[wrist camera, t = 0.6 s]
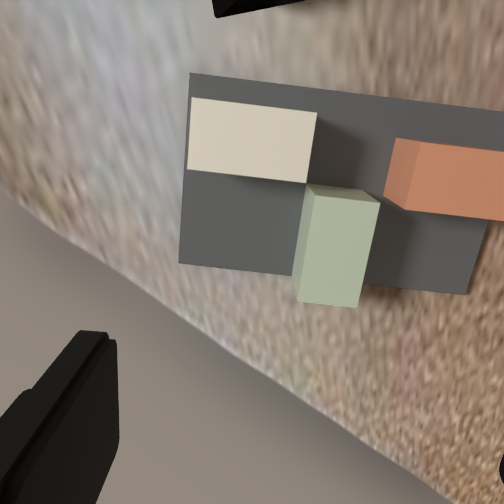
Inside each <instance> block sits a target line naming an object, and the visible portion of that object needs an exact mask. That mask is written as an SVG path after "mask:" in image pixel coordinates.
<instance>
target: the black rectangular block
mask: <svg viewBox="0 0 504 504" xmlns="http://www.w3.org/2000/svg"><path fill="white" fill-rule="evenodd" d="M300 1H305V0H212V4H213V9H214V15H215V17H216V18H221V17H226V16H231V15H236V14H241V13H246V12H251V11H256V10H261V9H266V8H270V7H275V6H280V5H285V4H290V3H295V2H300Z"/></svg>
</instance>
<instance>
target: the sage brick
mask: <svg viewBox="0 0 504 504" xmlns="http://www.w3.org/2000/svg"><path fill="white" fill-rule="evenodd" d="M379 207H380V202H378V201H377V200H376V199H374V198H373V197H371V196H370V195H369V194H367V193H366V192H364V191H363V190H359V189H351V188H342V187H334V186H325V185H317V184H308V183H306V189H305V195H304V201H303V208H302V214H301V220H300V226H299V233H298V239H297V245H296V251H295V258H294V264H293V270H292V280H293V284H294V289H295V293H296V298H297V301H298V302H307V303H316V304H326V305H335V306H344V307H353V308H357V306H358V301H359V297H360V292H361V288H362V283H363V279H364V274H365V270H366V265H367V261H368V256H369V252H370V247H371V243H372V238H373V234H374V229H375V225H376V220H377V216H378V212H379Z"/></svg>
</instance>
